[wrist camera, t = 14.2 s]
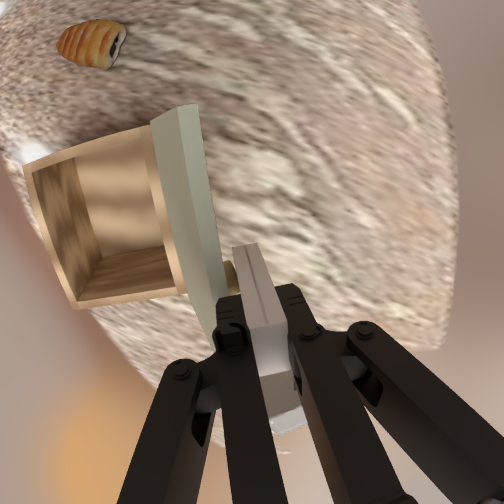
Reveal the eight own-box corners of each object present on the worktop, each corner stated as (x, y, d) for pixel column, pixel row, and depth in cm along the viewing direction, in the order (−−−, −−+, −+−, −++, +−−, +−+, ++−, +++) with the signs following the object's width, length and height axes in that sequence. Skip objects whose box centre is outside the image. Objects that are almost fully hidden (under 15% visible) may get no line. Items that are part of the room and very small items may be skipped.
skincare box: (260, 371, 54) (277, 439, 40) (245, 350, 51) (260, 423, 37) (300, 354, 54) (325, 420, 40) (288, 332, 51) (315, 402, 37)
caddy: (69, 148, 31) (22, 166, 21) (167, 121, 33) (149, 124, 22) (100, 261, 39) (73, 310, 29) (190, 244, 40) (187, 293, 30)
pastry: (55, 64, 25) (42, 61, 22) (72, 19, 23) (60, 13, 19) (113, 71, 28) (103, 68, 25) (132, 24, 25) (124, 16, 22)
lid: (176, 106, 10) (217, 100, 10) (149, 120, 22) (168, 117, 22) (239, 403, 18) (261, 394, 18) (188, 296, 30) (203, 292, 30)
